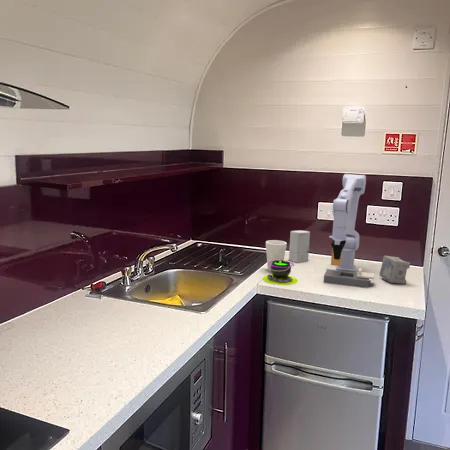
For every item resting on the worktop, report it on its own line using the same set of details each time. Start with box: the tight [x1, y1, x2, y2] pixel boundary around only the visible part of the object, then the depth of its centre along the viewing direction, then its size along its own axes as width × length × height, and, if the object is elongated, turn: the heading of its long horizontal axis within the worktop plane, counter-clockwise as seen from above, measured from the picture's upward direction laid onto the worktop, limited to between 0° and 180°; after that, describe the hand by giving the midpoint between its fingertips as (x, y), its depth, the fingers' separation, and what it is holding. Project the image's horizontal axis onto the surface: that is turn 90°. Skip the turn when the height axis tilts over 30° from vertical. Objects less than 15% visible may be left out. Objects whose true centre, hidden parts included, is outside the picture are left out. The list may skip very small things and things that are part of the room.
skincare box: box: [288, 229, 311, 264], centre depth 230 cm, size 8×6×15 cm
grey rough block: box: [379, 255, 411, 285], centre depth 201 cm, size 10×8×10 cm
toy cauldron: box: [262, 253, 299, 286], centre depth 198 cm, size 15×15×11 cm
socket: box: [323, 268, 370, 289], centre depth 199 cm, size 11×18×3 cm, turn 71°
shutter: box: [357, 267, 375, 280], centre depth 196 cm, size 7×7×3 cm
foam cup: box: [265, 239, 288, 272], centre depth 212 cm, size 10×9×13 cm
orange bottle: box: [330, 248, 342, 267], centre depth 200 cm, size 4×4×8 cm
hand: (337, 257), depth 200 cm, fingers closed on orange bottle, 4 cm apart
